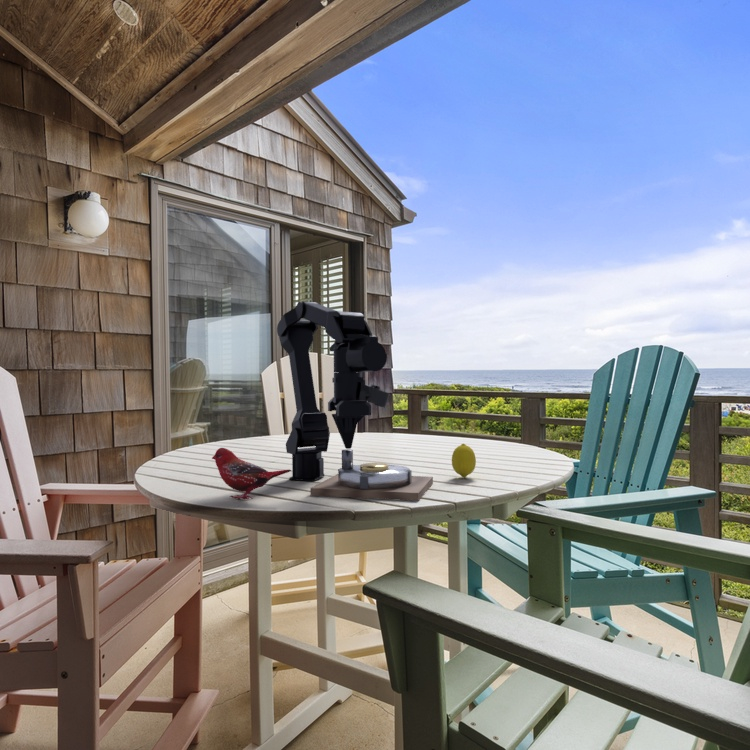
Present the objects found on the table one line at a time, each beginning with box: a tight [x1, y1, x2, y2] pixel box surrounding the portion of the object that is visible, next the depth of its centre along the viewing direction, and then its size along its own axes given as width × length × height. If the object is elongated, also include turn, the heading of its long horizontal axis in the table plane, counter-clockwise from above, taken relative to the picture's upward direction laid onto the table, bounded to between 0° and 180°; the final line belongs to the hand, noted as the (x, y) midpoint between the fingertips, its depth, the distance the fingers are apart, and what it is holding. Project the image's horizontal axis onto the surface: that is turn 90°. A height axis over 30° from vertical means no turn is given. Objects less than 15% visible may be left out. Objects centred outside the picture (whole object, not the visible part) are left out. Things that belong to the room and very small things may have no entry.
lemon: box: [451, 443, 477, 479], centre depth 119 cm, size 6×6×8 cm
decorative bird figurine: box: [211, 447, 292, 500], centre depth 99 cm, size 3×18×10 cm, turn 72°
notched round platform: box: [337, 448, 413, 489], centre depth 107 cm, size 16×16×6 cm
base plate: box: [309, 473, 434, 502], centre depth 107 cm, size 22×17×2 cm
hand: (348, 448), depth 105 cm, fingers closed
